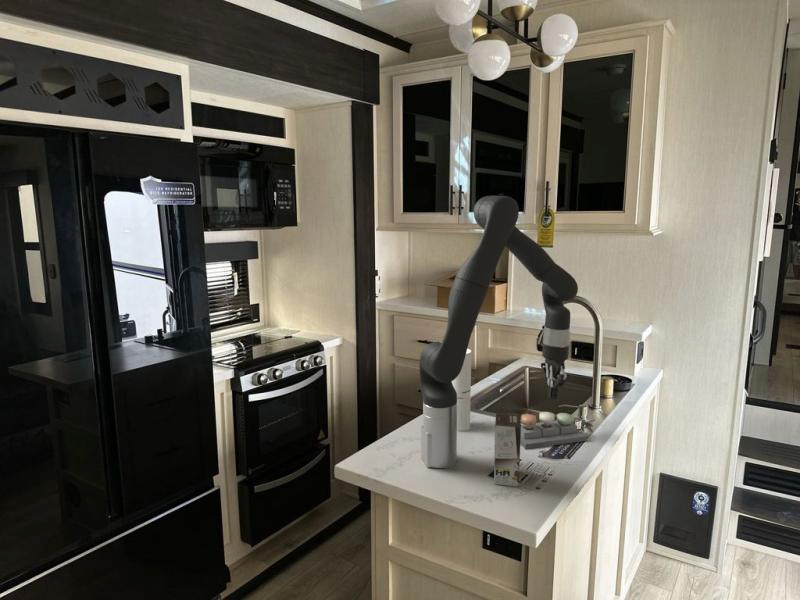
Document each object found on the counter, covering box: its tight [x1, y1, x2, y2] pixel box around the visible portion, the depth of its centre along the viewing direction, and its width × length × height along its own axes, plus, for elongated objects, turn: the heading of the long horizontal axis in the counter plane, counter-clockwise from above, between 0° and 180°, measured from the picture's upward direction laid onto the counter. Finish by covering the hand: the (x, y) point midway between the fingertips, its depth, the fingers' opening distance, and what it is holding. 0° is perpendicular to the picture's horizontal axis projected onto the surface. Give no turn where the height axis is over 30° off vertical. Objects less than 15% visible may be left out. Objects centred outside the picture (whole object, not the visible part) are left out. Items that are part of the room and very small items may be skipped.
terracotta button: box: [520, 413, 537, 429], centre depth 164 cm, size 4×4×4 cm
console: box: [520, 419, 588, 450], centre depth 166 cm, size 20×12×3 cm, turn 104°
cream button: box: [538, 411, 556, 427], centre depth 165 cm, size 4×4×4 cm
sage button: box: [556, 412, 573, 426], centre depth 167 cm, size 4×4×4 cm
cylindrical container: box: [452, 348, 472, 432], centre depth 172 cm, size 7×7×25 cm
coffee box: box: [493, 412, 522, 487], centre depth 142 cm, size 9×6×16 cm
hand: (552, 398), depth 164 cm, fingers closed
